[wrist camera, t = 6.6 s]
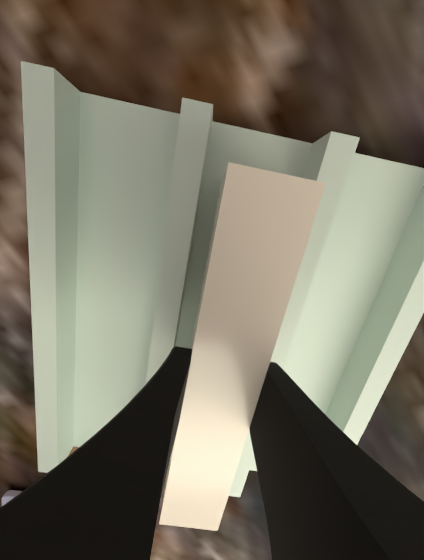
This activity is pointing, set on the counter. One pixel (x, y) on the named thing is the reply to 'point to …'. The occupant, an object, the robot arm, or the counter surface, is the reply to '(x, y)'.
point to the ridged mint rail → (199, 257)
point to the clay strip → (235, 333)
